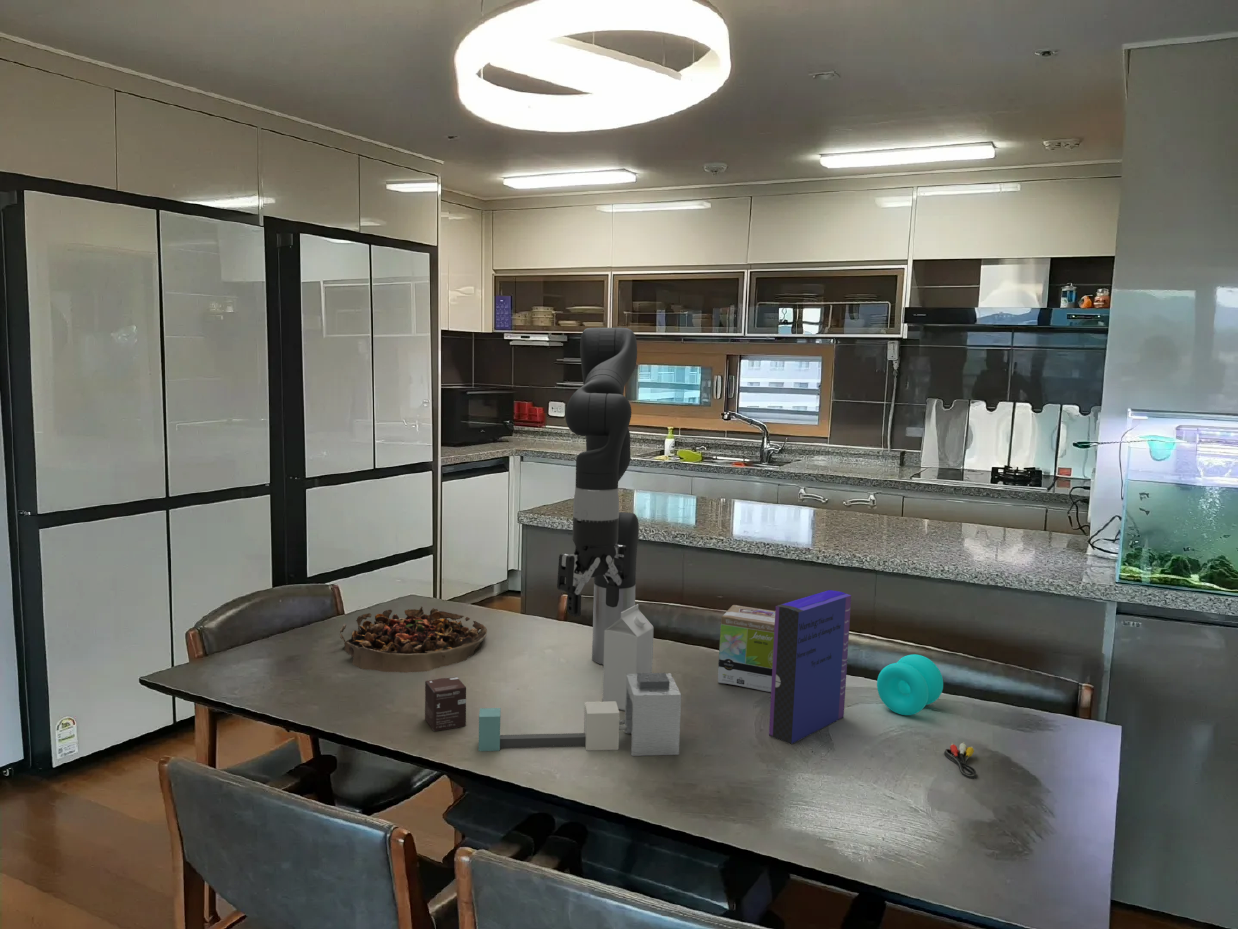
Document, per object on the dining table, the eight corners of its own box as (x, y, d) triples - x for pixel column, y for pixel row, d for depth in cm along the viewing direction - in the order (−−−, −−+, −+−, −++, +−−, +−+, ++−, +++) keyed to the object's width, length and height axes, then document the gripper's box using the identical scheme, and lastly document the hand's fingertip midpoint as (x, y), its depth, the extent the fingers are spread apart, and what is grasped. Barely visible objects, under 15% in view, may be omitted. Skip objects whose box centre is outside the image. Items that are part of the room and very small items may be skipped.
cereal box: (821, 710, 160) (828, 589, 158) (843, 717, 157) (851, 594, 154) (768, 735, 148) (775, 604, 146) (791, 744, 145) (798, 611, 142)
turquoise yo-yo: (943, 709, 163) (947, 660, 162) (922, 724, 155) (926, 672, 154) (895, 694, 169) (898, 647, 168) (872, 708, 162) (875, 658, 161)
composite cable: (978, 781, 134) (979, 767, 134) (946, 776, 135) (948, 762, 135) (972, 755, 143) (973, 742, 143) (942, 751, 145) (943, 737, 145)
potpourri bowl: (376, 623, 210) (377, 593, 210) (503, 635, 206) (504, 604, 205) (306, 666, 176) (307, 630, 175) (456, 682, 171) (458, 645, 171)
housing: (624, 730, 148) (626, 667, 147) (668, 729, 149) (670, 666, 148) (631, 756, 139) (634, 688, 137) (678, 754, 140) (681, 687, 138)
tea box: (716, 684, 172) (719, 615, 171) (728, 669, 181) (731, 603, 180) (789, 697, 167) (792, 625, 165) (797, 680, 176) (801, 612, 174)
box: (432, 732, 146) (433, 692, 145) (424, 719, 151) (424, 680, 150) (466, 726, 148) (467, 687, 148) (456, 714, 154) (457, 675, 153)
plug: (479, 740, 143) (480, 703, 142) (623, 736, 146) (624, 701, 145) (478, 753, 138) (478, 715, 137) (627, 749, 141) (628, 712, 140)
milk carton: (601, 706, 159) (604, 609, 157) (619, 694, 165) (622, 601, 163) (635, 714, 156) (638, 615, 154) (651, 701, 162) (654, 606, 160)
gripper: (610, 508, 144) (607, 599, 146) (548, 516, 134) (546, 613, 136) (642, 513, 139) (639, 608, 140) (579, 522, 129) (577, 624, 130)
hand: (593, 611), depth 138 cm, fingers open, 8 cm apart
